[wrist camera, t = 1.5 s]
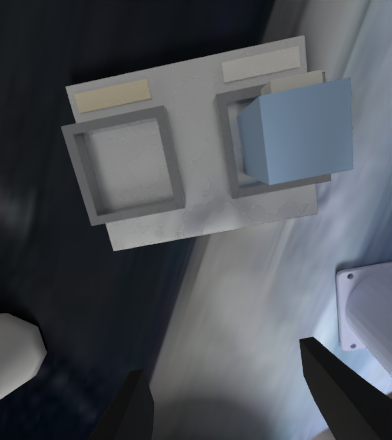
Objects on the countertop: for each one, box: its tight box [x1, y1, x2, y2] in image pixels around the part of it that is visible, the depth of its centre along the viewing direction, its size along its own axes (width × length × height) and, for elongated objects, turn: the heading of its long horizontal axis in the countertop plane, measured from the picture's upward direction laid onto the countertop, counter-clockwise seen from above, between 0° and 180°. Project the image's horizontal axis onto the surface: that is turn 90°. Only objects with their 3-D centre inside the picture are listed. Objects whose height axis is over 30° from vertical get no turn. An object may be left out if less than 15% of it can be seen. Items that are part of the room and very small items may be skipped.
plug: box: [237, 69, 353, 185], centre depth 15 cm, size 4×5×6 cm
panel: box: [61, 35, 331, 251], centre depth 18 cm, size 17×12×3 cm
